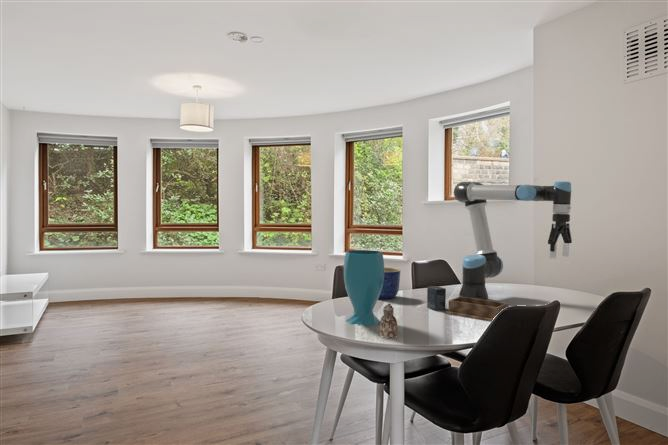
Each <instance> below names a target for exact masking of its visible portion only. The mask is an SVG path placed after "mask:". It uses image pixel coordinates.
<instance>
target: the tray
mask: <svg viewBox="0 0 668 445" xmlns="http://www.w3.org/2000/svg"><path fill="white" fill-rule="evenodd" d="M506 307H508V308H509V303H508V302H500V301H494V300H489V299H488V300H482V299H475V298H468V297H461V296H460V297H459V296H457V297H454V298H452V299H449V300H448V310H444V314H446V315H451V316H456V317H457V316H458V317H463V318H469V319H472V320H473V319H474V320H480V321H486V322H491V321H492V320H493V318H494V317H495V316H496V315H497V314H498V313H499V312H500V311H501V310H502V309H504V308H506Z"/></svg>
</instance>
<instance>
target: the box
mask: <svg viewBox="0 0 668 445" xmlns="http://www.w3.org/2000/svg"><path fill="white" fill-rule="evenodd" d="M426 288H427V290H426V291H427V293H426V294H427V295H426V296H427V297H426V298H427V299H426V300H427V301H426V303H427V304H426V307H427V308H428V309H431V310H433V311H436V312H438V311H446V301H447V300H446V295H447V294H446V292H447V290H446V288H445V287H442V286H438V285H430V286H427V287H426Z"/></svg>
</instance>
